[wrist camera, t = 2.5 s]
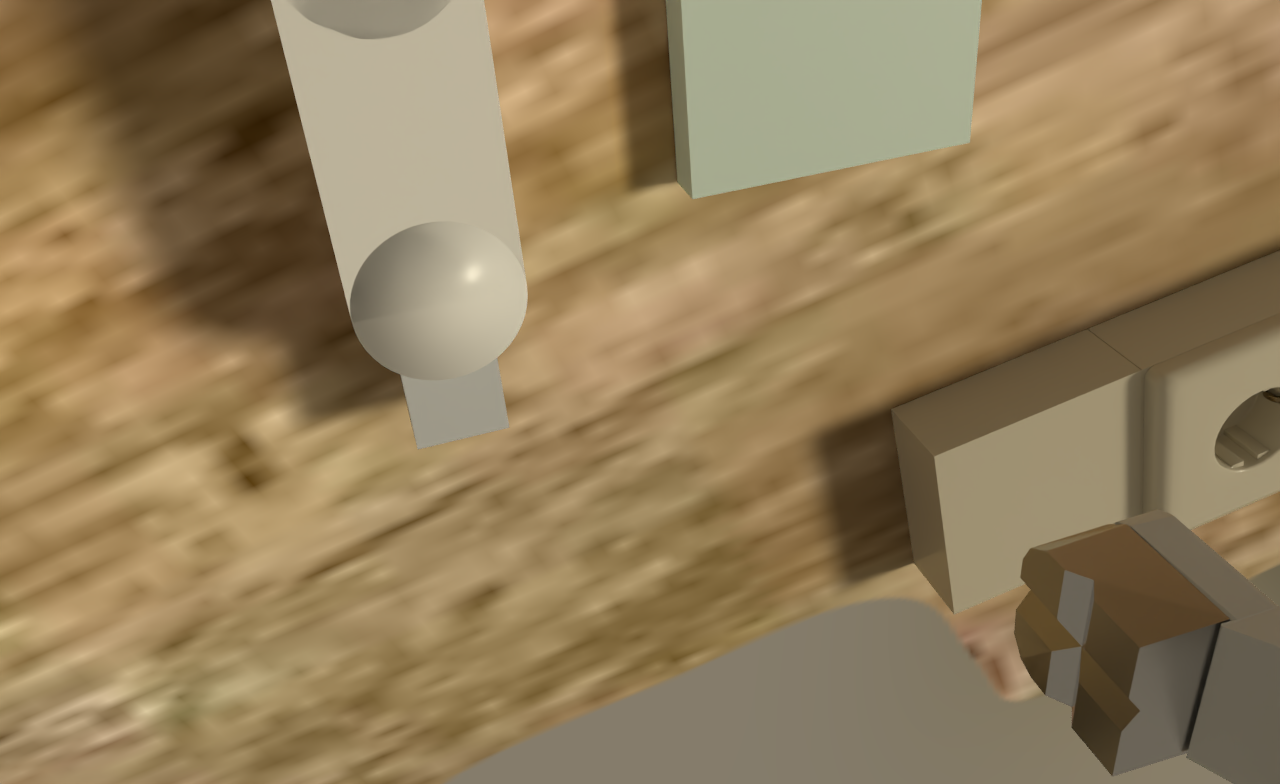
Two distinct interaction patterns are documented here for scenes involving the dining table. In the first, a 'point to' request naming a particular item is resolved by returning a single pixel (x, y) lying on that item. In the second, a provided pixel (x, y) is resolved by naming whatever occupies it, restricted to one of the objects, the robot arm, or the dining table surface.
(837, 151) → the sage board
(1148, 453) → the electrical outlet
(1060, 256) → the dining table surface
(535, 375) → the dining table surface
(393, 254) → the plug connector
